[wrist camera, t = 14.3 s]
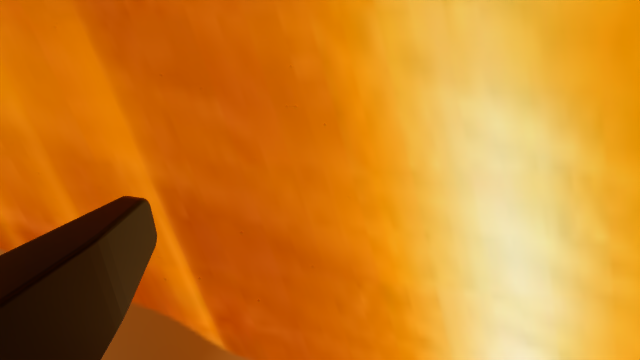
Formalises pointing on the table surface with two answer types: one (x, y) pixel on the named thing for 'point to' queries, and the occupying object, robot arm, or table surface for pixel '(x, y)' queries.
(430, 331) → the table surface
